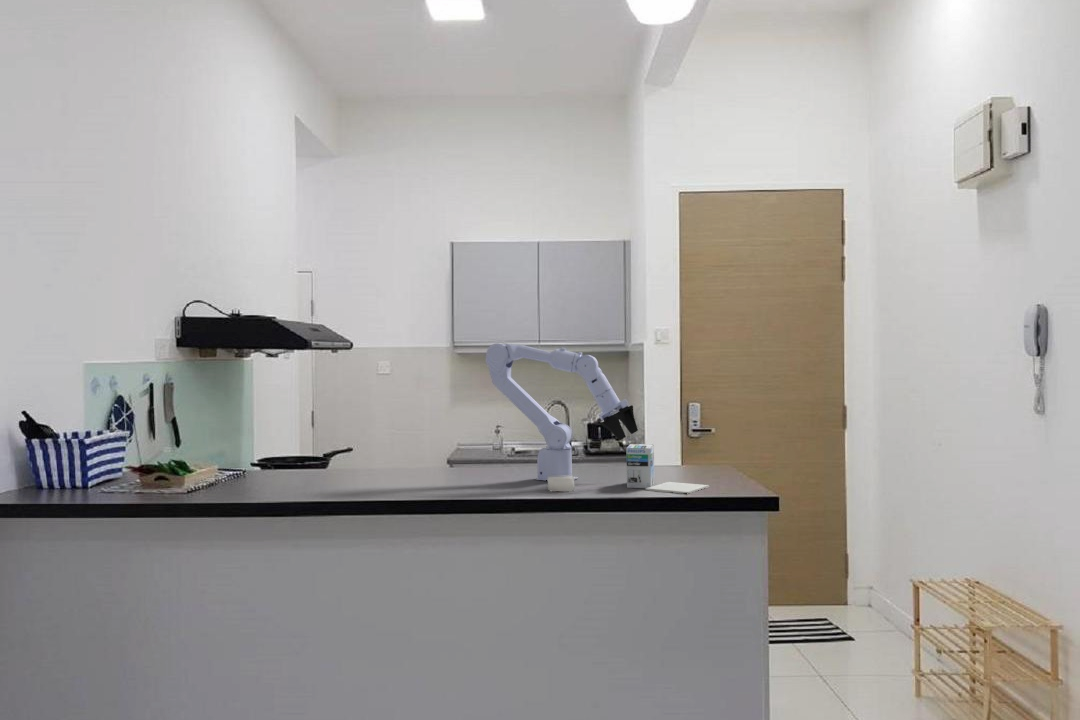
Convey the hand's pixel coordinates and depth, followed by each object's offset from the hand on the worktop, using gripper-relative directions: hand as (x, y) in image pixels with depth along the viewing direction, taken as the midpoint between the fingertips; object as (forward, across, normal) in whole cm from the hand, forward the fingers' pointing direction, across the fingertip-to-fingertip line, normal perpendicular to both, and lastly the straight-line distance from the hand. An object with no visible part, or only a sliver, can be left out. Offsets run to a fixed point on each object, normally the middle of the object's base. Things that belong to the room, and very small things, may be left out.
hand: (628, 435), depth 245 cm
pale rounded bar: (+3, 0, +26) cm, 27 cm away
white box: (+18, -12, +2) cm, 22 cm away
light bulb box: (+13, -3, +7) cm, 15 cm away
